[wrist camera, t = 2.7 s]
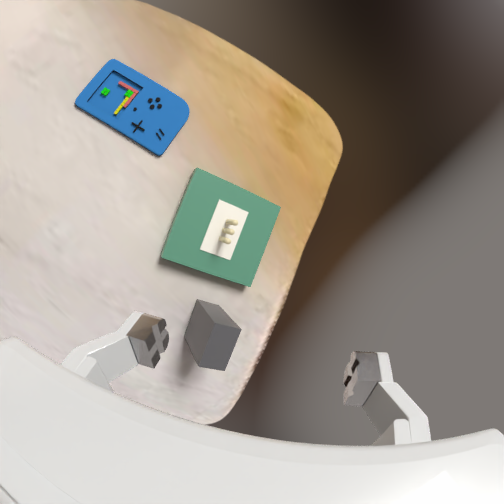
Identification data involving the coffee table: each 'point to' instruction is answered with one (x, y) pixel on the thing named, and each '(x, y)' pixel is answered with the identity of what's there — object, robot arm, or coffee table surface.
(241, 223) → the board
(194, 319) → the block
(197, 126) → the coffee table surface
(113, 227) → the coffee table surface
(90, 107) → the handheld gaming device
